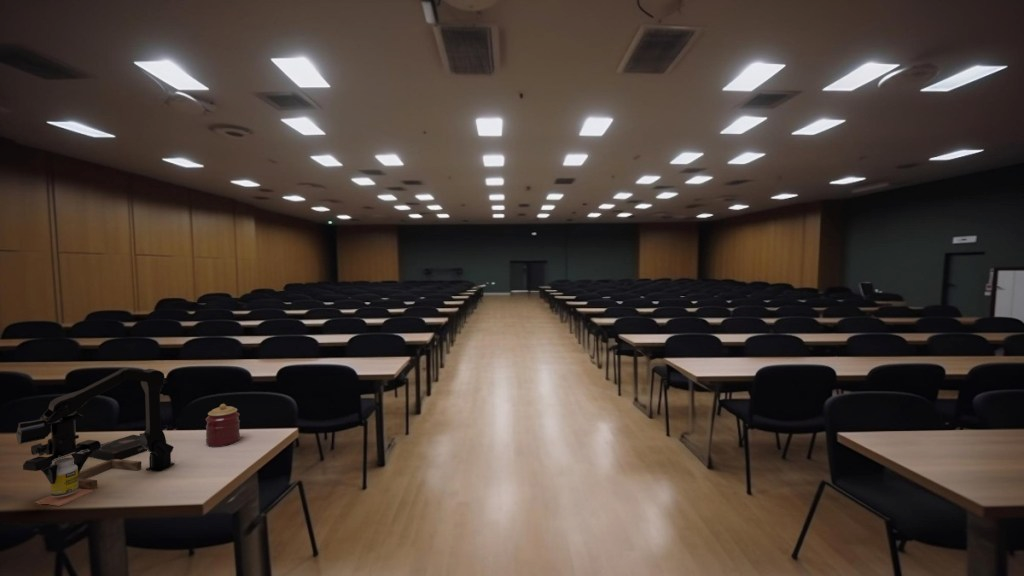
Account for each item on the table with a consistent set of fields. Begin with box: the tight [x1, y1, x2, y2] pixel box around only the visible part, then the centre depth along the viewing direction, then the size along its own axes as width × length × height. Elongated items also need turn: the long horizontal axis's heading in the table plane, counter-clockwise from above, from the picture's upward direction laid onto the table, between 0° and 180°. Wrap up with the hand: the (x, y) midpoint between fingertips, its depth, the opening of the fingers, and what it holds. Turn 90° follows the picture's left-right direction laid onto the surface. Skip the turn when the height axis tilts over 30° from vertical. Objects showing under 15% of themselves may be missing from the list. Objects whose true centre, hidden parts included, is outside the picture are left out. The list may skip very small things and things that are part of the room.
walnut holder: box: [78, 459, 142, 491], centre depth 160 cm, size 14×17×3 cm
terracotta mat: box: [34, 488, 94, 507], centre depth 145 cm, size 10×10×1 cm
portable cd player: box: [88, 434, 148, 462], centre depth 183 cm, size 16×17×4 cm
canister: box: [205, 403, 241, 447], centre depth 195 cm, size 13×13×18 cm
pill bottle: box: [50, 456, 78, 497], centre depth 145 cm, size 6×6×12 cm
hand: (64, 478), depth 145 cm, fingers closed on pill bottle, 6 cm apart
